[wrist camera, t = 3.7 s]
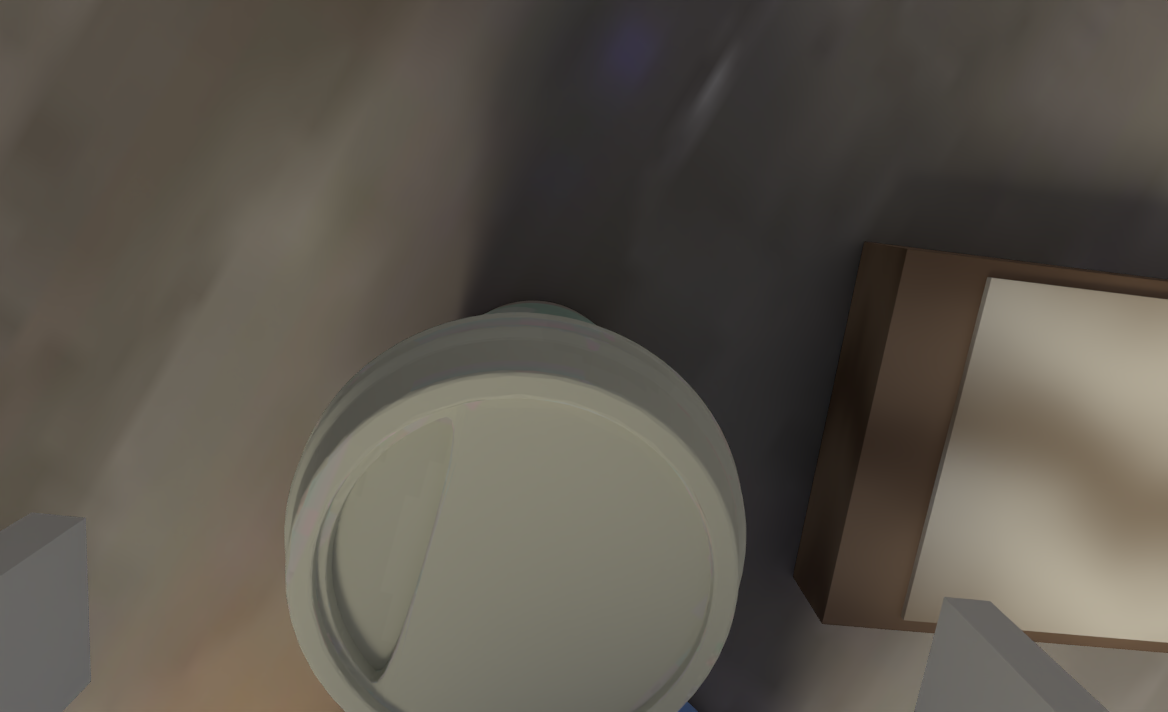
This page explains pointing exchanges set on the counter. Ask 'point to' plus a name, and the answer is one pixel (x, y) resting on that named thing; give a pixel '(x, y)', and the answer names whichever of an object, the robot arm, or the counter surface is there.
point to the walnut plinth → (995, 451)
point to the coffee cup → (514, 525)
